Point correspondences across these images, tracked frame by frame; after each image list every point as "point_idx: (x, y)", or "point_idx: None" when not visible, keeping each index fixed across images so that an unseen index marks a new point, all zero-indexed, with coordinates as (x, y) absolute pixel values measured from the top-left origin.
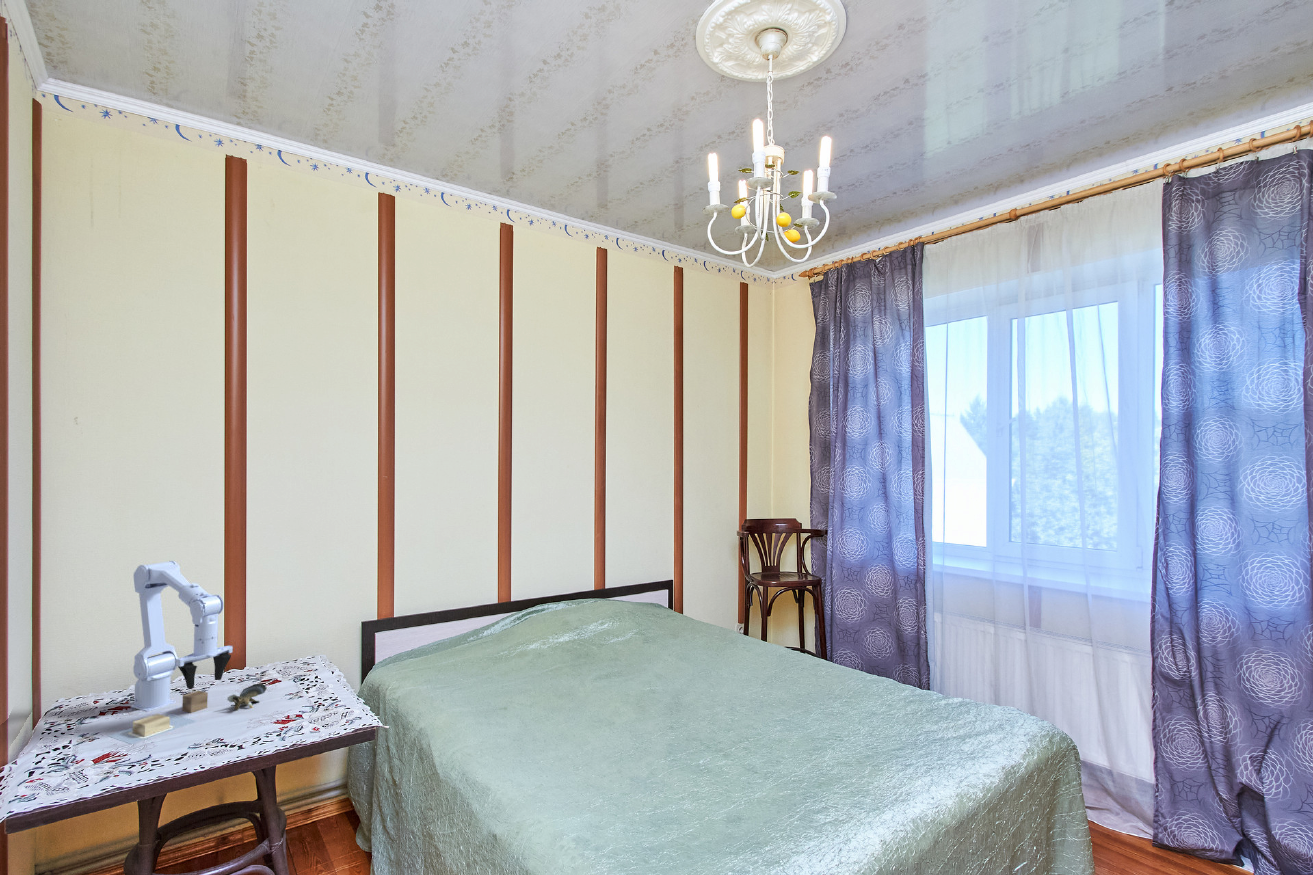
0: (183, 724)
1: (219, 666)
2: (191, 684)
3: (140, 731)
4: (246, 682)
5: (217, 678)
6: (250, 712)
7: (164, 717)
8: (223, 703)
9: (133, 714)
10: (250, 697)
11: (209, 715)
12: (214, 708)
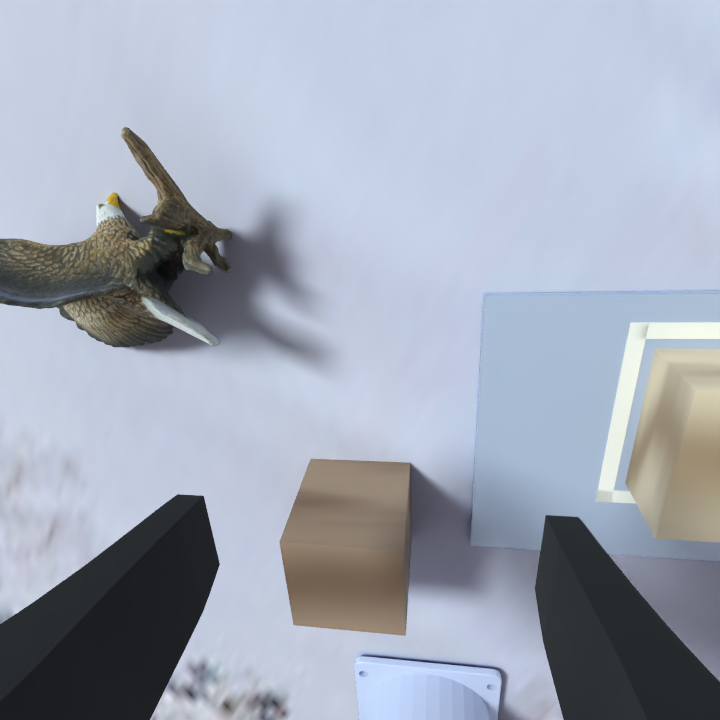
0: (568, 321)
1: (74, 698)
2: (610, 560)
3: None
4: (24, 603)
5: (202, 535)
6: (156, 95)
7: (711, 423)
8: (212, 453)
9: (543, 696)
10: (67, 246)
11: (362, 340)
12: (282, 427)
